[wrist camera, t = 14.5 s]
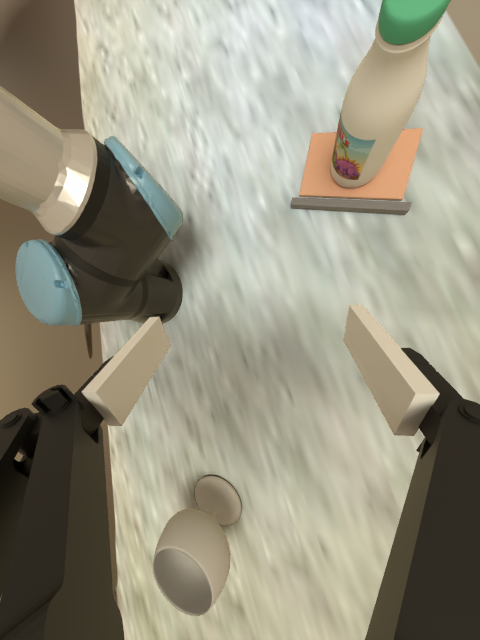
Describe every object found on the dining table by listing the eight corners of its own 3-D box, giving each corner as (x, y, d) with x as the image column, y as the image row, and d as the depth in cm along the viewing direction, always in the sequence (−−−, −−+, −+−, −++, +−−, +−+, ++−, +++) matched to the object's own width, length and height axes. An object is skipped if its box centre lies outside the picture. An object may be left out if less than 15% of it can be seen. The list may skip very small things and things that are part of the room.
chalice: (196, 460, 49) (151, 526, 34) (251, 487, 45) (225, 573, 30) (188, 509, 51) (143, 589, 36) (240, 538, 47) (211, 641, 32)
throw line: (291, 208, 37) (291, 204, 36) (293, 201, 37) (292, 197, 36) (404, 214, 32) (409, 210, 31) (406, 206, 32) (411, 202, 30)
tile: (299, 196, 37) (299, 194, 36) (312, 136, 35) (312, 133, 35) (401, 200, 32) (402, 198, 31) (420, 131, 31) (422, 128, 30)
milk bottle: (375, 129, 32) (479, -126, 13) (388, 176, 32) (511, -11, 13) (324, 154, 34) (348, -28, 15) (336, 198, 34) (375, 68, 15)
